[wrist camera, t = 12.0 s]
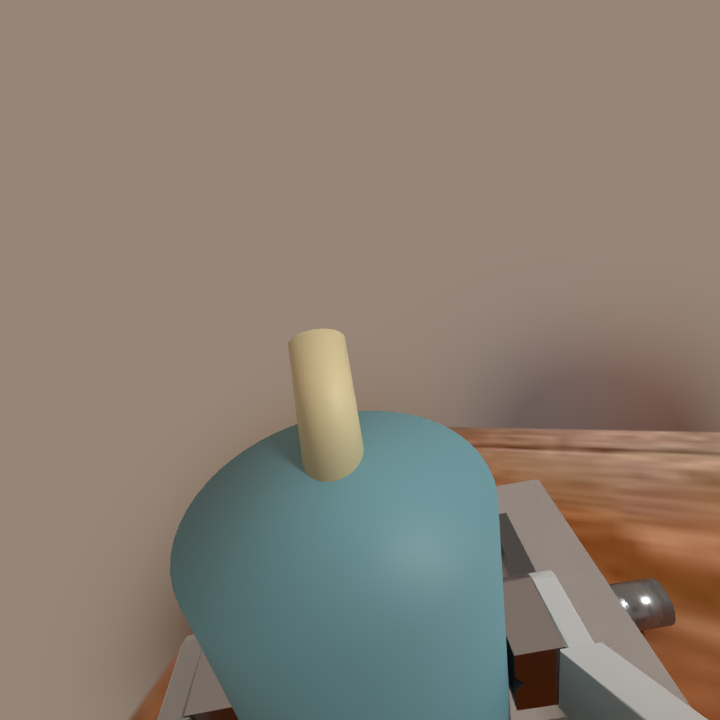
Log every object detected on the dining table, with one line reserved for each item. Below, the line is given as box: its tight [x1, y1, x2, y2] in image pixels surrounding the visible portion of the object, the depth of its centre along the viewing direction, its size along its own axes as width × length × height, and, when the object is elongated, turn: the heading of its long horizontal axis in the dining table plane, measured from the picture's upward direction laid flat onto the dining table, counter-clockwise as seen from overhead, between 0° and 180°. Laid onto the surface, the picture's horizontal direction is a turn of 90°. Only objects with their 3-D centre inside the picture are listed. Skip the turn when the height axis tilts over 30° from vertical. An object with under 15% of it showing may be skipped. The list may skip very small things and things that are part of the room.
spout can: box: [170, 329, 511, 720], centre depth 9 cm, size 5×6×12 cm
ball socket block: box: [496, 479, 691, 720], centre depth 24 cm, size 23×18×5 cm
